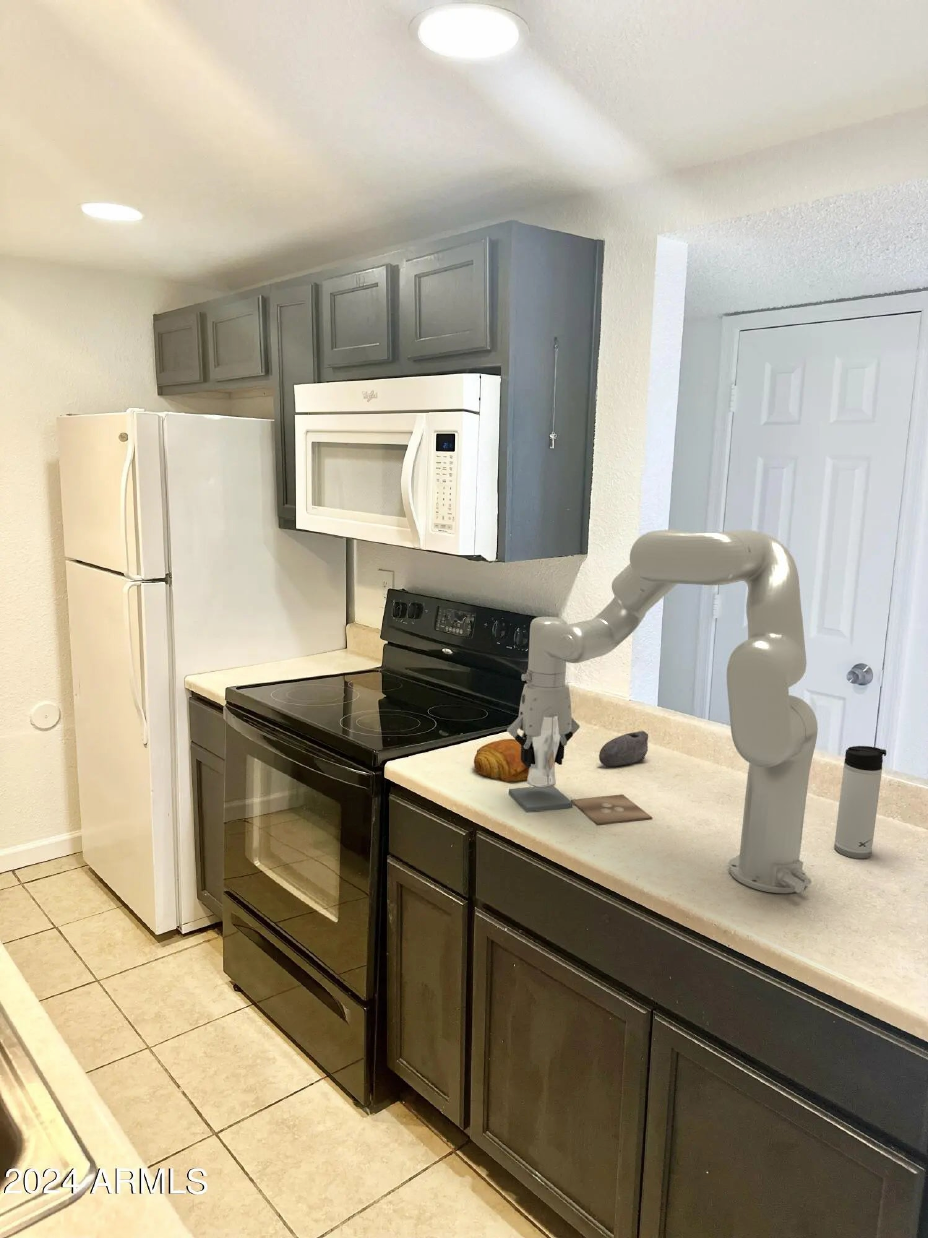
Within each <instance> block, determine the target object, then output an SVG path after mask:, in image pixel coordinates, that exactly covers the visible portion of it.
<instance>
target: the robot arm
mask: <svg viewBox="0 0 928 1238" xmlns="http://www.w3.org/2000/svg"><path fill="white" fill-rule="evenodd" d="M799 577H800V576H799V571H798V567H797V564H796V562H795V559H794V558H793V555H792V554H791V552H790V551H789V549H788V548H787V547H786V546H785V545H784V544H783V543H782V542H780V541H779V540H778V539H776V538H774V537H773V536H771V535H768V534H766V533H764V532H760V531H756V530H750V529H738V530H737V529H736V530H735V529H734V530H729V531H718V532H686V531H684V530H680V529H662V530H652V531H649V532H646V533H644V534H642V535H640V536H639V537H638V538H637V539H636V540H635V542H634V543H633V545H632V547H631V549H630V553H629V563H628V564H627V566H626V567H624V568H623V569H622V571H620V573H618V574H617V575H616V576H615V577H614V578H613V580H612V582H611V590H612V591H611V592H612V593H613V595H614V597H613V598H612V600H611V601H610V602H609V603H608V604H607V605H606V606H605V607H604V608H603V609H602V610H601V611H600V612H598V614H597V615H596V616H594V617H593V618H591V619H586V620H583V621H578V622H575V623H574V622H573V623H569V624H568V623H567V621H566V620H565V619H564V618H560V617H558V616H557V617H556V616H538V617H535V618H534V619H532V621H531V622H530V625H529V626H530V627H529V643H528V645H529V647H528V665H527V669H526V673H522V674H521V681H522V682H525V681H526V683H524V685H523V690H522V693H521V697H520V701H519V702H520V703H519V710H518V717H517V718H516V719H515V720H514V721H513V722H512V723H511V724H510V725H509V727H507V729H506V731H507V733H509V735H510V736H511V737H512V739H515V740H516V741H517V742H518V743H519V744H520V745H521V761H522V763H523V764H524V765H525V766H526V767H527V768H529V767H531V757H532V749H531V748H530V744H531V742H532V737H538V736H540V735H541V728H542V724H543V723H542V722H543V720H544V716H546V717H550V716H558V717H557V718H558V728H559V735H561V739H560V744H559V749H558V753H557V757H556V762H555V764H557V765H558V766H561V765H563V759H564V758H565V746H567V744H568V742H569V741H570V740H571V739H572V738H573V736H574V734H575V733H577V731H578V730H579V729H580V728H581V727H580V724H579V723H578V722H577V721H576V720H575V719H574V718H573V717H572V700H571V691H570V686H569V685H568V684H566V675H567V673H566V672H567V663H568V664H569V663H570V664H579V663H583V662H586V661H589V660H593V659H596V658H600V657H604V656H605V655H607V654H610V653H611V652H612V651H614V650H615V649H616V648H617V647H618V646H619V645H620V644H621V643H623V642H624V641H626V639H627V638H628V637H629V636H631V634H632V633H633V632H635V630H636V629H637V628H638V627H639V626H640V624H641V622H643V619H644V618H645V616H646V614H647V613H648V612H649V611H650V609H652V608H653V607H654V606H655V605H656V604H657V603H658V602H659V601H660V600H661V599H663V598H664V597H665V596H666V595H667V594H668V593H669V592H670V591H671V590H673V588H675V587H676V586H677V585H679V584H680V585H682V584H683V585H695V586H696V585H697V586H724V585H730V584H734V583H738V582H745V583H746V586H747V597H746V604H745V609H746V610H745V612H746V613H745V614H746V619H747V640H744V641H743V642H741V643H740V644H738V645H737V646H736V647H735V648H734V650H733V651H732V653H731V654H730V655H729V658H728V662H727V667H726V687H727V699H728V711H729V723H730V724H729V725H730V733H731V738H732V742H733V746H734V747H735V749H736V752H737V753H738V754H739V755H740V757H741V759H743V760H744V761H745V762H747V763H749V764H748V771H747V777H746V779H747V780H746V786H745V796H744V807H743V817H742V825H741V827H742V828H741V837H740V848H739V854H738V855H736V856H734V857H732V858H731V859H730V861H729V864H728V870H729V874H730V875H731V876H732V877H733V878H734V879H735V880H736V881H738V882H739V883H741V884H742V885H745V886H746V887H749V888H751V889H755V890H758V891H762V892H766V893H771V894H792V893H798V894H800V893H802V892H804V890H805V887H808V886H809V885H811V882H812V880H811V878H810V877H809V876H808V875H807V872H805V870H804V869H803V865H804V862H803V861H802V860H800V857H801V847H802V840H803V829H804V821H805V813H806V811H805V810H806V802H807V796H808V786H809V779H810V772H811V767H812V762H813V756H814V752H815V748H816V744H817V739H818V738H817V737H818V719H817V716H816V714H815V712H814V710H813V708H812V707H811V706H810V705H809V703H807V701H805V700H804V699H802V698H800V697H798V696H795V695H791V694H790V691H789V688H791V687H793V686H795V684H797V683H798V682H799V681H800V680H802V679H803V677H804V676H805V673H806V670H807V665H808V664H807V653H806V645H805V644H806V643H805V642H806V641H805V632H804V622H803V621H804V620H803V613H802V612H803V611H802V604H801V589H800V580H799V579H800V578H799ZM518 730H520V731H522V734H521V735H520V734H519V732H518Z"/></svg>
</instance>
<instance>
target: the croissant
mask: <svg viewBox="0 0 928 1238" xmlns="http://www.w3.org/2000/svg"><path fill="white" fill-rule="evenodd" d="M473 764H474V768H475V770H476V772H477V773H478V774H479V775H481V776H484V777H488V778H492V779H495V780H499V781H501V782H505V783H509V782H521V781H526V779H527V774H528V770H529V768H527V767H526V766H525V765H524V764H523V763H522V761H521V745H520V744H519V743H518V742H517V741H516V740H515V739H514V738H504V739H503V738H502V739H498V740H494V741H491V742H489V743H486V744H484V745H482V746H481V747H479V748H478V749H477V750H476V754H475V755H474V758H473Z"/></svg>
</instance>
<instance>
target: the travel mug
mask: <svg viewBox="0 0 928 1238" xmlns="http://www.w3.org/2000/svg"><path fill="white" fill-rule="evenodd" d="M886 756H887V750H886V749H883V748H879V747H875V746H871V745H870V746H867V745H854V746H850V747H848V748H847V749H846V750H845V756H844V757H845V758H844V761H843V768H842V778H841V785H840V794H839V803H838V812H837V819H836V826H835V828H836V829H835V836H834V844H833V845H834V846H833V848H834V850H835V851H836V852H838V854H841V855H843V856H845V857H847V858H853V859H858V860H859V859H860V860H861V859H863V860H864V859H867V858H870V857H871V856H872V850H873V844H874V836H875V829H876V821H877V815H878V814H877V813H878V806H879V796H880V789H881V782H882V774H883V773H882V771H883V764H884V763H883V762H884V759H883V758H884V757H886Z"/></svg>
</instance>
